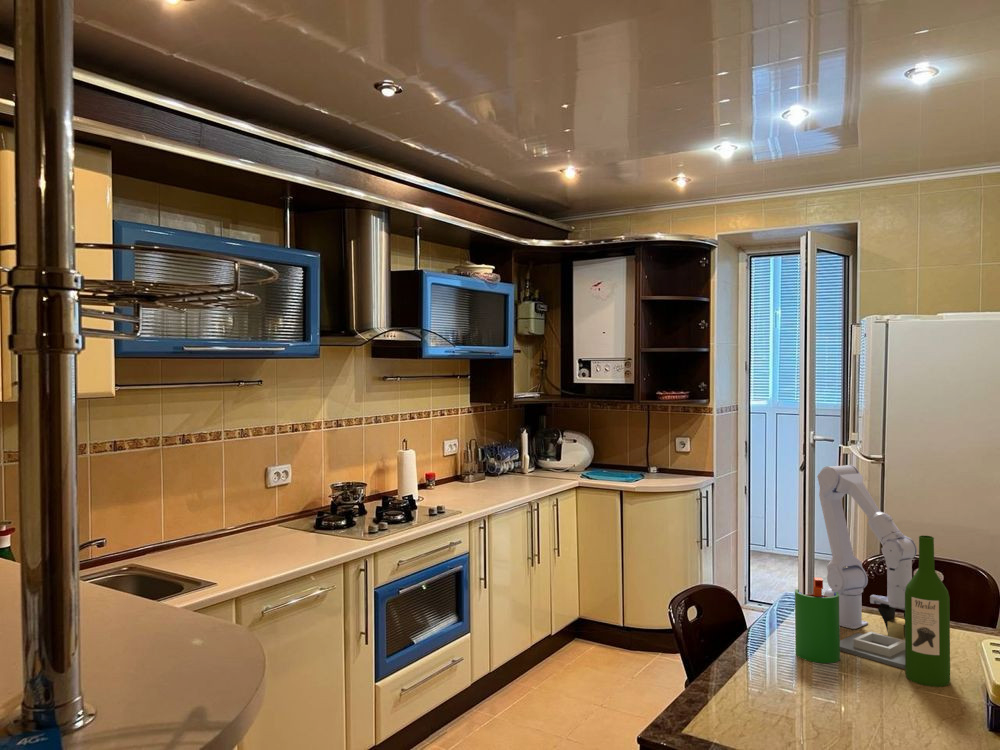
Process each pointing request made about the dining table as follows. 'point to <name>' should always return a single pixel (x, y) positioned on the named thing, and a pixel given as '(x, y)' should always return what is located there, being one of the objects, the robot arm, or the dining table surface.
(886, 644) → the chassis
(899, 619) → the tan rectangular block
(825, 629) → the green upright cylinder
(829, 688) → the dining table surface
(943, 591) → the wine bottle
